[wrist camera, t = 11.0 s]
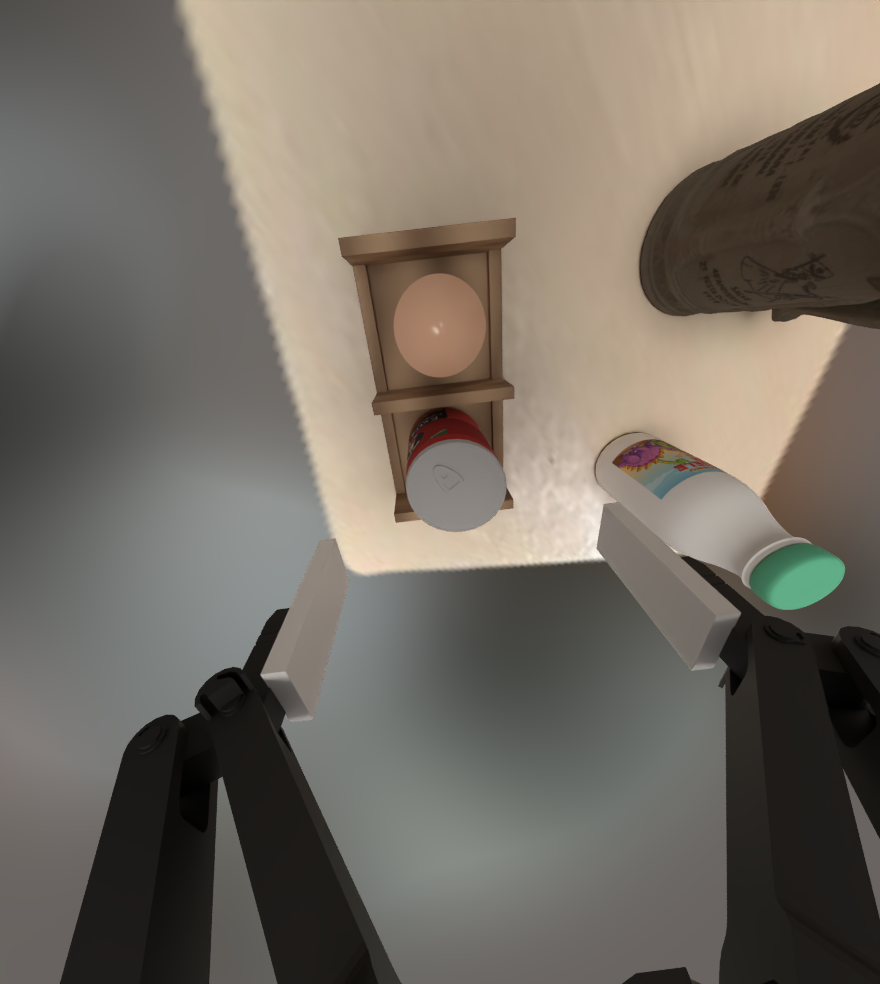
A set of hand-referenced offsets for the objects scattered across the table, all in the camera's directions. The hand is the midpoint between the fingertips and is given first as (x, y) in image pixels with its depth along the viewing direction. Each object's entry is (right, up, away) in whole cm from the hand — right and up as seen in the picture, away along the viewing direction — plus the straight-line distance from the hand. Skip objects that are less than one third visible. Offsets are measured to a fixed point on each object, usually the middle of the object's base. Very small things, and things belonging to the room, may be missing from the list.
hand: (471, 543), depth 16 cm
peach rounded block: (-2, +17, +13) cm, 22 cm away
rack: (-2, +13, +16) cm, 21 cm away
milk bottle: (+20, +6, +22) cm, 31 cm away
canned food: (-1, +8, +18) cm, 20 cm away
